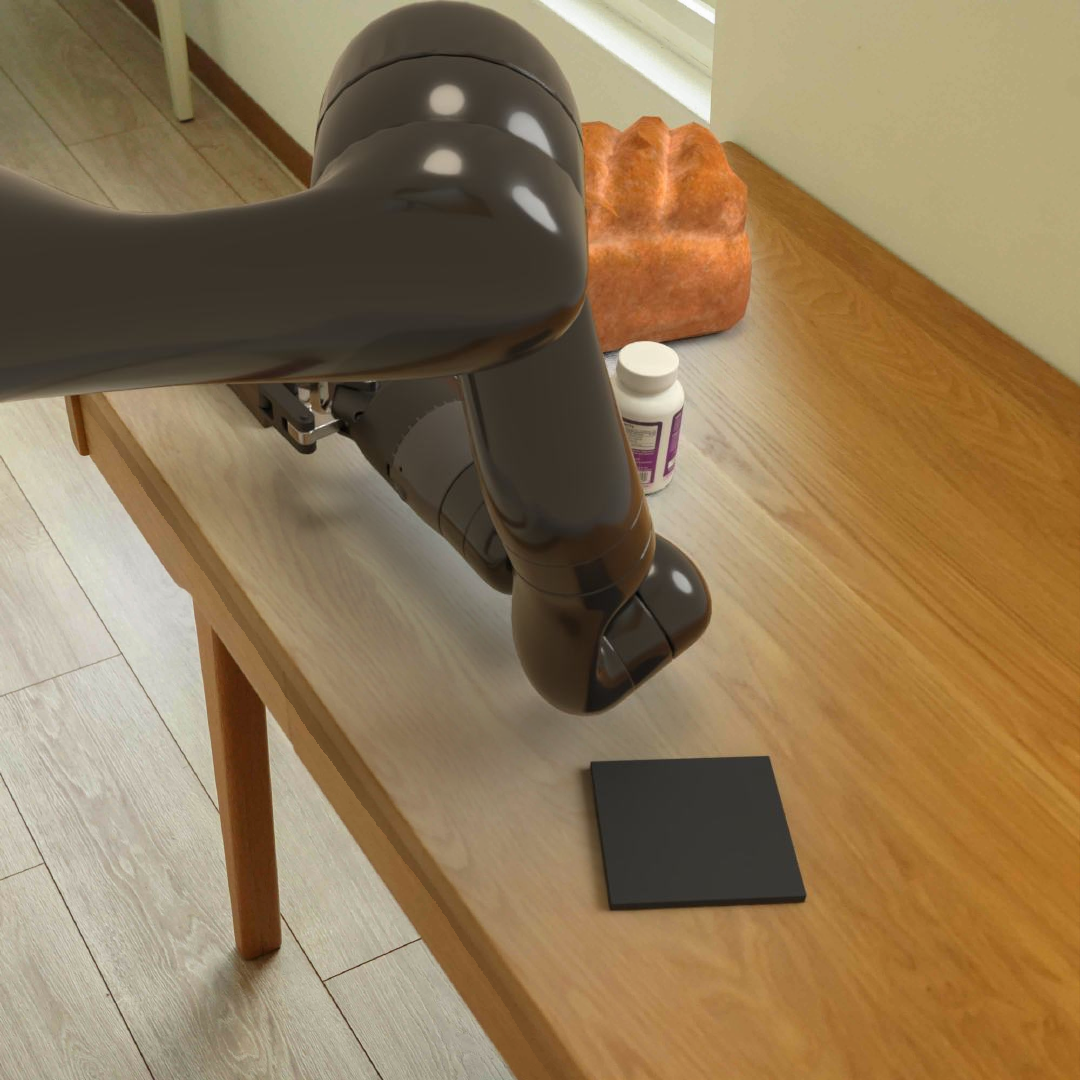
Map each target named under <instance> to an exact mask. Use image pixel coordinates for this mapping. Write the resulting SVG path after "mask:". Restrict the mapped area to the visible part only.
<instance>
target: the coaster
mask: <svg viewBox="0 0 1080 1080" xmlns="http://www.w3.org/2000/svg"><path fill="white" fill-rule="evenodd" d="M589 773H590V781H591V787H592V794H593V801H594V808H595V815H596V822H597V830H598V837H599V843H600V849H601V850H600V851H601V857H602V864H603V872H604V879H605V886H606V893H607V899H608V905H609V906H608V907H609V910H610V911H621V910H622V911H624V910H625V911H626V910H627V911H628V910H647V909H648V910H649V909H650V910H651V909H667V908H668V909H670V908H691V907H692V908H694V907H695V908H696V907H715V906H719V907H720V906H739V905H762V904H763V905H764V904H783V903H784V904H785V903H787V904H788V903H804V902H806V899H807V895H808V894H807V892H806V888H805V884H804V879H803V876H802V873H801V869H800V866H799V862H798V858H797V854H796V850H795V846H794V843H793V840H792V836H791V832H790V827H789V824H788V821H787V817H786V814H785V809H784V806H783V802H782V799H781V795H780V791H779V787H778V783H777V779H776V777H775V772H774V769H773V765H772V760H771V757H770V755H751V756H717V757H715V756H714V757H689V758H688V757H685V758H656V759H655V758H653V759H627V760H625V759H624V760H595V761H590V764H589Z"/></svg>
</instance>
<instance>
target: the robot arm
mask: <svg viewBox="0 0 1080 1080" xmlns="http://www.w3.org/2000/svg"><path fill="white" fill-rule="evenodd" d="M334 64H335V65H334V66H333V69H332V70H331V74H330V76H329V78H328V81H327V84H326V86H325V89H324V92H323V95H322V99H321V102H320V107H319V110H318V111H319V113H318V116H317V117H318V119H317V124H316V130H315V136H314V145H313V157H312V165H311V174H310V175H311V176H310V185H309V188H308V189H305V190H301V191H298V192H295V193H293V194H288V195H283V196H279V197H275V198H270V199H267V200H261V201H254V202H247V203H243V204H237V205H230V206H219V207H211V208H200V209H191V210H189V209H188V210H180V211H137V210H125V209H119V208H115V207H111V206H107V205H102V204H98V203H96V202H93V201H91V200H88V199H85V198H83V197H80V196H78V195H74V194H72V193H69V192H67V191H65V190H62V189H60V188H58V187H56V186H54V185H51V184H49V183H46V182H44V181H42V180H39V179H36V178H34V177H33V176H30V175H27V174H25V173H23V172H20V171H18V170H15V169H13V168H10V167H8V166H5V165H3V164H0V404H4V403H12V402H21V401H30V400H38V399H39V400H40V399H49V398H50V399H51V398H60V397H68V396H69V397H70V396H78V395H91V394H100V393H109V392H110V393H111V392H112V393H113V392H124V391H134V390H145V389H146V390H147V389H157V388H168V387H181V386H182V387H183V386H184V387H185V386H200V385H201V386H202V385H204V386H205V385H206V386H207V385H228V384H250V383H255V384H256V387H257V396H258V412H259V413H260V414H261V415H262V416H263V417H264V418H265V419H266V420H267V421H268V422H269V423H270V424H271V425H272V426H271V427H272V428H274V430H276V432H278V433H279V434H280V435H281V436H282V437H283V438H284V439H285V440H286V441H287V442H288V443H289V444H290V445H291V446H292V447H293V448H294V449H295V451H297V452H298V453H300V454H301V455H311V454H314V453H315V452H316V451H317V450H318V447H317V441H319V440H321V439H323V438H326V437H328V436H331V435H333V434H338V435H340V436H342V437H345V438H348V439H350V440H352V441H353V442H354V443H355V444H356V447H358V449H359V451H360V453H361V454H362V455H363V457H364V459H365V460H366V462H368V463H369V464H370V465H371V466H372V468H373V469H374V470H375V471H376V472H377V473H378V474H379V475H380V477H382V479H383V480H384V481H386V483H387V484H388V485H389V486H390V487H391V488H392V489H393V491H394V492H395V493H397V495H398V496H399V498H400V499H401V501H402V502H403V503H405V504H406V505H407V506H408V507H409V509H411V510H412V511H413V512H414V513H415V514H416V516H418V518H419V519H421V520H422V522H424V524H426V525H427V526H428V527H429V528H430V529H432V530H433V531H435V532H436V533H437V534H438V535H440V536H441V537H442V538H444V540H445V541H447V543H448V544H449V545H450V546H451V547H452V549H454V551H456V552H457V554H458V555H460V557H461V558H462V559H463V560H464V561H465V562H466V563H467V564H468V566H470V568H471V569H472V570H473V571H474V572H475V573H476V574H477V576H478V577H479V578H481V580H482V581H483V582H484V583H486V584H487V585H488V586H489V587H490V588H491V589H493V590H494V591H495V592H498V593H500V594H503V595H507V596H511V607H510V608H511V609H510V611H511V612H510V613H511V614H510V617H511V618H510V622H511V623H510V624H511V634H512V639H513V644H514V648H515V651H516V655H517V658H518V661H519V664H520V666H521V669H522V670H523V673H524V675H525V677H526V678H527V680H528V682H529V683H530V685H531V686H532V688H533V689H534V690H535V691H536V693H537V694H538V695H539V696H540V697H541V698H542V699H543V700H544V701H545V702H546V703H548V705H550V706H551V707H553V708H554V709H556V710H558V711H560V712H562V713H565V714H567V715H572V716H577V717H594V716H599V715H602V714H604V713H606V712H609V711H610V710H613V709H614V708H615V707H618V705H620V704H621V703H622V702H624V701H625V700H626V699H627V698H628V697H630V696H631V695H632V694H633V693H635V692H636V691H637V690H638V689H640V688H641V687H643V685H645V684H646V683H647V682H648V681H649V680H651V679H652V678H654V676H656V675H657V674H658V673H659V672H661V671H662V670H663V669H665V668H666V667H667V666H668V665H670V664H671V663H672V662H673V660H676V659H677V658H678V657H680V656H681V655H682V654H684V652H686V651H687V650H688V649H690V648H691V647H692V646H694V644H696V642H698V641H699V640H700V638H701V637H702V636H703V635H704V634H705V633H706V631H707V629H708V628H709V626H710V624H711V619H712V614H713V601H712V595H711V592H710V589H709V585H708V582H707V580H706V577H704V575H703V573H702V571H701V570H700V568H699V567H698V565H696V563H695V562H694V560H692V559H691V558H690V556H689V555H688V554H687V553H685V552H684V551H683V550H682V549H681V548H680V547H678V545H676V544H674V543H673V542H672V541H671V540H669V539H667V538H666V537H664V536H663V535H661V534H659V533H657V532H656V531H655V526H654V521H653V519H652V516H651V515H652V514H651V512H650V507H649V504H648V501H647V497H646V494H645V493H644V489H643V486H642V482H641V479H640V476H639V472H638V469H637V465H636V462H635V459H634V456H633V452H632V449H631V446H630V443H629V439H628V436H627V433H626V430H625V426H624V423H623V420H622V417H621V413H620V410H619V407H618V404H617V400H616V397H615V393H614V390H613V387H612V383H611V380H610V377H611V376H610V374H609V370H608V367H607V362H606V358H605V355H604V352H602V348H601V345H600V341H599V337H598V333H597V329H596V325H595V320H594V316H593V311H592V306H591V301H590V297H589V292H588V280H589V242H588V223H587V204H586V183H585V152H584V143H583V134H582V125H581V123H582V121H581V115H580V113H579V108H578V105H577V102H576V99H575V95H574V92H573V90H572V87H571V85H570V83H569V81H568V79H567V77H566V76H565V73H564V72H563V70H562V68H561V66H560V64H559V63H558V61H557V60H556V58H555V56H554V55H553V54H552V53H551V52H550V51H549V50H548V49H547V47H546V46H545V45H544V43H543V42H542V41H541V40H540V39H539V38H538V37H537V36H536V35H534V33H533V32H531V31H530V30H528V29H527V28H526V27H525V26H524V25H522V24H521V23H520V22H518V21H517V20H516V19H513V18H512V17H509V16H507V15H505V14H503V13H502V12H499V11H498V10H496V9H493V8H491V7H487V6H483V5H480V4H476V3H473V2H470V1H469V2H468V1H464V0H463V1H462V0H426V1H417V2H412V3H408V4H404V5H401V6H398V7H396V8H393V9H391V10H389V11H387V12H386V13H384V14H381V16H379V17H376V18H375V19H373V20H371V21H370V22H369V23H368V24H367V25H365V27H364V28H362V29H361V30H360V31H359V32H358V33H357V34H356V35H355V36H354V37H352V38H351V39H350V41H349V43H348V44H347V45H346V47H345V48H344V49H343V50H342V52H341V54H340V55H339V56H338V58H337V60H336V62H335V63H334ZM328 382H330V383H335V384H336V387H335V391H334V395H333V400H331V399H330V397H329V394H328ZM298 383H307V384H308V385H309V390H307V389H303V388H299V387H298Z"/></svg>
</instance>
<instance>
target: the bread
mask: <svg viewBox="0 0 1080 1080" xmlns="http://www.w3.org/2000/svg"><path fill="white" fill-rule="evenodd" d="M581 125H582V134H583V143H584V152H585V183H586V204H587V223H588V242H589V280H588V292H589V297H590V301H591V306H592V311H593V316H594V320H595V325H596V329H597V333H598V337H599V341H600V345H601V348H602V352H603V353H605V352H606V353H607V352H612V351H616V350H619V349H622V348H623V347H625V346H626V345H628V344H631V343H634V342H641V341H650V342H656V343H664V342H669V341H675V340H682V339H687V338H688V339H689V338H696V337H703V336H707V335H712V334H716V333H720V332H724V331H728V330H731V329H732V328H733V327H734V326H735V325H736V324H737V323H739V322H740V321H741V320H742V319H743V318H744V317H745V315H746V310H747V307H748V303H749V300H750V296H751V285H752V268H753V267H752V251H751V250H752V249H751V240H750V238H749V236H748V233H747V230H746V228H745V227H746V221H747V214H748V210H747V209H748V207H747V199H748V189H749V186H748V185H747V184H746V183H745V182H744V180H741V178H740V177H739V176H738V175H737V174H736V173H735V172H734V171H733V170H732V169H731V167H730V165H729V163H728V159H727V157H726V154H725V151H724V148H723V146H722V145H721V143H720V142H719V140H718V138H717V137H716V136H715V135H714V133H712V131H711V130H710V129H709V128H707V127H705V126H703V125H701V124H699V123H697V122H695V121H692V122H689V123H686V124H684V125H681V126H678V127H676V128H673V129H671V128H670V127H669V126H668V124H666V123H665V121H664V120H663V119H662V118H661V117H660V116H650V115H649V116H647V115H642V116H641V117H640V118H638V119H637V120H636V121H635V122H634V123H633V124H631V125H630V126H628V127H627V128H626V129H624V131H621V130H619V129H618V128H615V127H614V126H612V125H610V124H608V123H607V122H603V121H600V120H599V121H597V120H596V121H585V122H581Z"/></svg>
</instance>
